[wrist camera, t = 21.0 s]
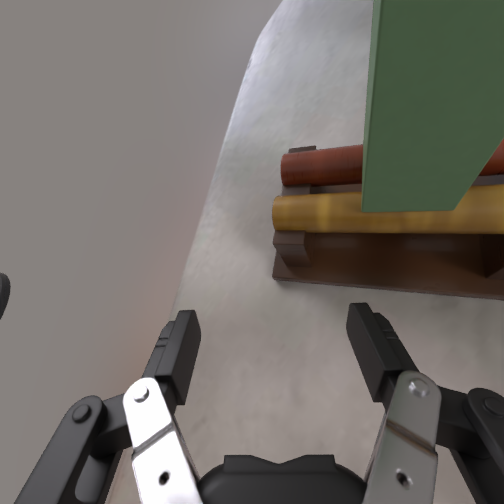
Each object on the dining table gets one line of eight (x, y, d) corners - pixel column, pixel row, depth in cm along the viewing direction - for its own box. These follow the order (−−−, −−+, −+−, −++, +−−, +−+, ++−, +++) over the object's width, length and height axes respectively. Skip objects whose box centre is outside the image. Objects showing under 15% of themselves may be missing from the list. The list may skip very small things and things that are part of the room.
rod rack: (274, 280, 19) (248, 250, 14) (290, 180, 23) (274, 127, 18) (551, 304, 13) (680, 267, 8) (514, 163, 17) (588, 75, 12)
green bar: (360, 213, 13) (388, -90, 4) (363, 142, 15) (386, -170, 6) (454, 211, 11) (789, -269, 3) (444, 132, 13) (628, -307, 4)
